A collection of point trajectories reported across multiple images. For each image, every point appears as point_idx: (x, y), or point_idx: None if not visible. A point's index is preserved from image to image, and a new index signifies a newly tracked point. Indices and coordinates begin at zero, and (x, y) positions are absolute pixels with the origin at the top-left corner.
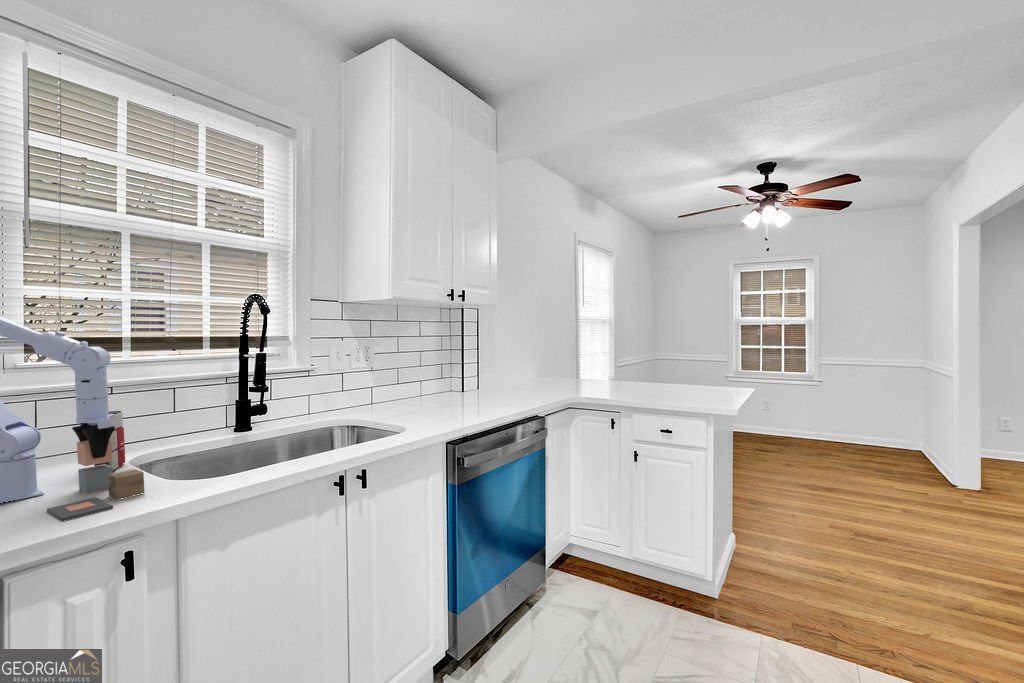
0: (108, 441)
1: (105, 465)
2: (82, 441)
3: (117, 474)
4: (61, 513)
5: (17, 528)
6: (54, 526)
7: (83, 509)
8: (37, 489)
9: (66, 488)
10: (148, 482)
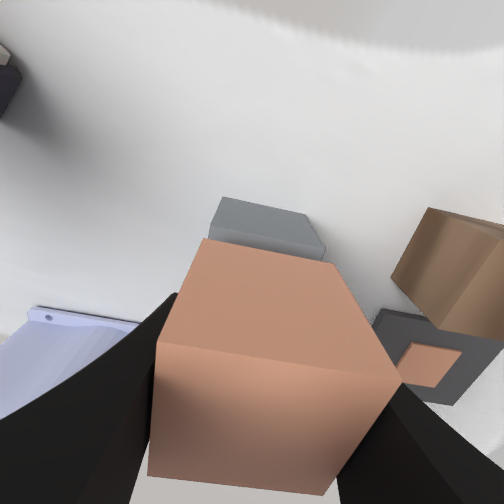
0: (437, 416)
1: (251, 243)
2: (164, 459)
3: (485, 318)
4: (417, 393)
5: None
6: (456, 412)
7: (449, 370)
8: (101, 323)
9: (141, 271)
10: (393, 114)
